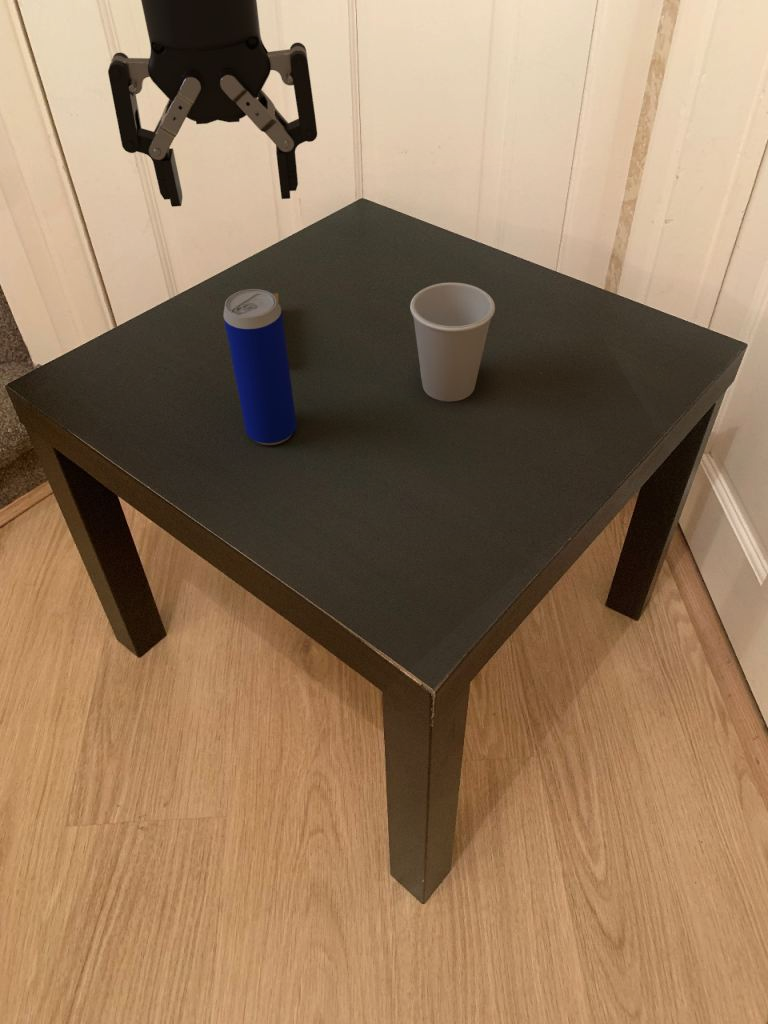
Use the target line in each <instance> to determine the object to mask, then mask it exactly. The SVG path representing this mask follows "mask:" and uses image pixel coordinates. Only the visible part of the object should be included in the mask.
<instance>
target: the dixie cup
mask: <svg viewBox="0 0 768 1024" xmlns="http://www.w3.org/2000/svg"><path fill="white" fill-rule="evenodd" d="M409 307H410V308H409V309H410V313H411V314H412V318H413V324H414V332H415V339H416V340H415V341H416V347H417V355H418V362H419V371H420V378H421V385H422V389H423V391H424V392H425V394H426V395H427V396H429V397H431V398H432V399H434V400H437V401H440V402H458V401H461V400H462V401H463V400H464V399H466V398H468V397H470V396H472V394H473V392H475V387H476V384H477V381H478V380H477V379H478V375H479V370H480V366H481V362H482V358H483V354H484V349H485V346H486V341H487V336H488V334H489V333H488V332H489V329H490V323H491V319H492V318H493V316H494V314H495V311H496V304H495V302H494V300H493V298H492V297H491V296H490V295H489V293H488V292H486V291H484V290H483V289H481V288H480V287H477V286H474V285H472V284H469V283H468V284H467V283H463V282H441V283H435V284H432V285H429V286H427V287H425V288H422V289H421V290H419V291H417V293H415V295H414V296H413V297H412V299H411V301H410V304H409Z"/></svg>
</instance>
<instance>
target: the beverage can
mask: <svg viewBox="0 0 768 1024" xmlns="http://www.w3.org/2000/svg"><path fill="white" fill-rule="evenodd" d="M222 316H223V321H224V327H225V331H226V336H227V341H228V346H229V351H230V356H231V363H232V367H233V372H234V378H235V382H236V388H237V393H238V397H239V402H240V408H241V413H242V419H243V423H244V429H245V433H246V435H247V436H248V437H249V438H250V439H251V440H252V441H254V442H255V443H258V444H260V445H262V446H263V445H264V446H276V445H279V444H282V443H284V442H285V441H286V442H287V441H288V440H289V439H290V438H291V437H292V435H293V434H294V432H296V429H297V417H296V410H295V402H294V394H293V386H292V380H291V379H292V378H291V372H290V365H289V358H288V357H289V356H288V349H287V342H286V335H285V327H284V320H283V312H282V306H281V304H280V305H279V303H278V301H277V299H276V297H275V296H274V295H273V293H272V292H270V291H268V290H266V289H265V290H264V289H259V288H249V289H248V288H247V289H242V290H239V291H237V292H235V293H232V294H230V296H228V298H227V299H226V300H225V303H224V308H223V315H222Z"/></svg>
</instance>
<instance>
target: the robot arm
mask: <svg viewBox="0 0 768 1024" xmlns="http://www.w3.org/2000/svg"><path fill="white" fill-rule="evenodd" d="M140 2H141V7H142V11H143V16H144V21H145V25H146V30H147V36H148V39H149V45H150V54H149V55H150V56H149V57H129V56H128V55H127V54H126V53H124V52H116V53H115V54H114V55H112V58H111V61H110V63H109V67H108V70H107V74H108V75H107V76H108V80H109V85H110V91H111V95H112V100H113V105H114V106H113V107H114V111H115V116H116V121H117V126H118V127H117V128H118V132H119V137H120V142H121V147H122V149H123V150H124V151H125V152H127V153H128V154H134V153H141V154H144V155H146V156H148V157H149V158H150V159H151V161H152V164H153V168H154V172H155V178H156V181H157V185H158V189H159V194H160V195H161V197H162V199H163V200H169V201H170V205H171V207H172V208H174V207H175V208H176V207H182V204H183V190H182V184H181V181H180V175H179V170H178V166H177V161H176V156H175V152H174V151H175V150H174V148H170V147H171V145H172V143H173V142H174V140H175V138H176V137H177V135H178V134H179V132H180V130H181V128H182V126H183V125H184V122H185V120H186V119H189V120H190V121H193V122H195V123H196V125H206V124H207V125H208V124H210V123H213V122H216V121H220V122H226V123H239V122H240V121H241V120H242V119H243V118H245V117H246V116H247V118H248V119H250V121H251V122H252V123H253V124H254V125H255V126H256V127H257V129H258V130H260V132H263V133H265V135H267V137H268V138H269V139H270V140H271V141H272V142H273V144H275V152H276V163H277V171H278V179H279V188H280V197H281V200H289V199H291V192H296V191H297V190H298V185H299V181H298V180H299V179H298V168H297V157H296V149H297V147H298V146H299V145H301V144H303V143H305V142H308V143H310V142H311V143H312V142H314V141H315V140H316V139H317V137H318V128H317V119H316V113H315V106H314V97H313V90H312V83H311V75H310V69H309V68H310V67H309V61H308V60H309V59H308V52H307V49H306V46H305V45H304V44H303V43H302V42H294V43H292V44H291V45H290V47H289V49H281V50H280V49H279V50H273V51H268V49H267V48H266V46H265V45H264V43H263V40H262V35H261V27H260V19H259V11H258V3H257V0H140ZM271 71H275V72H277V73H278V74H279V75H280V78H281V80H282V83H283V84H284V85H287V86H289V87H291V86H293V90H294V96H295V103H296V110H297V116H298V118H297V119H295V120H292V121H289V122H288V121H287V120H286V118H285V117H284V116H283V114H281V113H280V111H279V110H278V109H277V108H276V106H275V104H274V103H273V101H272V100H271V99H270V98H269V96H268V95H267V94H266V93H265V91H264V90H263V88H264V86H265V84H266V82H267V81H268V78H269V76H270V74H271ZM147 78H150V79H151V81H152V82H153V83H154V85H155V86H156V87H157V88H158V90H160V92H162V94H163V95H165V97H166V98H167V99H168V100H167V102H166V105H165V107H164V108H163V112H162V114H161V116H160V118H159V119H158V122H157V124H156V125H155V128H154V130H149V129H146V128H142V123H141V117H140V111H139V104H138V100H137V95H138V94H140V93H141V92H142V90H143V86H144V80H145V79H147Z"/></svg>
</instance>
